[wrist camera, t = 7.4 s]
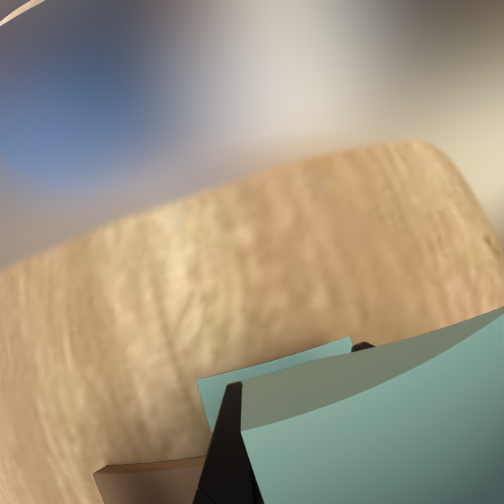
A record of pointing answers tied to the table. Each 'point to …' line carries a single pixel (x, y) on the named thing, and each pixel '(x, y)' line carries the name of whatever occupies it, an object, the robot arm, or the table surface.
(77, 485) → the table surface
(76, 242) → the table surface
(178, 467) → the board
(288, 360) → the teal block tower
